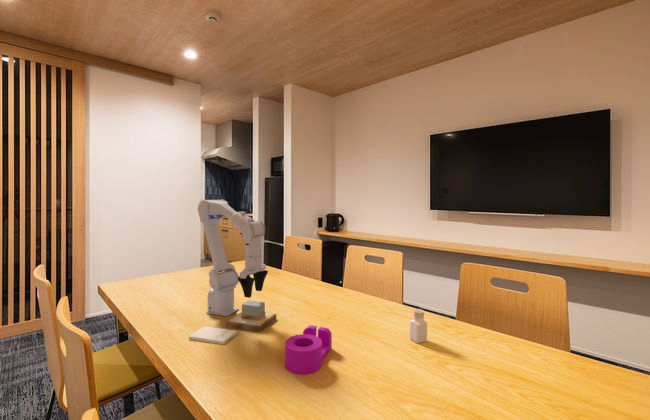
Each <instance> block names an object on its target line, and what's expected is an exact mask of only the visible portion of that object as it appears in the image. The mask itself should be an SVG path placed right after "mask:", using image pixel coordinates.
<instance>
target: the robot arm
mask: <svg viewBox="0 0 650 420" xmlns="http://www.w3.org/2000/svg"><path fill="white" fill-rule="evenodd" d="M197 212H198V216H199V219H200V223H201V224H202V226H203V231H204V234H205V236H206V237H205V238H206V241H207V246H208V248H209V253H210V257H211V261H212V265H213V266H212V267H211V269H210V270H209V272H208V276H209V277H208V278H209V279H208V280H209V281H208V283H209V286H210V289H209V291H208V293H207V311H206V314H209V315H217V316H223V317H224V316H225V317H229V315H231V314H233V313H235V312H236V311H238V310H239V309H240V308H239V307H236V306H235V289H236V288H237V287H236V286H237V285H238V283H239V284H240V286H241V288H242V292H243V296H244V298H249V299H250V298H251V297H252V295H253V294H252V293H253V285H254V288H255V291H256V292H262V290H263V287H264V282H265V279H266V278H267V275H268V273H269V271H268V269H267V267H266V265H267V264H266V263H263V261H262V260H263V259H262V258H263V256H262V255H263V254H262V253H263V252H262V251H263V248H262V246H263V243H262V242H263V237H264V236H265V233H266V226H265V224H264V222H263V221H262V220H254V218H253V217H250V216H248V215H247V214H246V212H245V211H238V212H237V211H236V210H235V209H234V208H232V207H231V206H230V205H229V203H228V201H226V200H225V199H202V200H200V201H199V203H198V206H197ZM224 218H227V219H229V220H230V221H231V224H232V226H234V227H235V228H236V229H238V230H239V231H240V232H241V235H242V238H243V243H244V254H245V255H244V268H243V269H242V271H240V272H239V273H238V272H237V270H236V268H235V266H234V264H232V263H229V262H228V258H227V254H226V251H225V248H224V247H225V246H224V243H223V241H222V237H221V233H220V230H219V226H218V225H219V224H220V222H222V220H223V219H224ZM266 269H267V270H266ZM252 275H253V276H252Z"/></svg>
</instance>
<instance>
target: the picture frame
mask: <svg viewBox="0 0 650 420" xmlns="http://www.w3.org/2000/svg"><path fill="white" fill-rule="evenodd" d="M241 314H242V311H241V312H239V314H237V315H235V316H233V317H232V318H230V319H229V320H227V321H226V324H225V326H226V328H232V329H239V330H245V331H251V332H252V331H253V332H259V333H261V332H262V331H263V330H265V329H266V328H267V327H268V326H269V325H271V324H272V323H273V322H274V321H276V319H277V314H276V313H270V312H266V311H265V317H264V318H262V319H261V320H260V321H256V320H249V319H242V318H241Z"/></svg>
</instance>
